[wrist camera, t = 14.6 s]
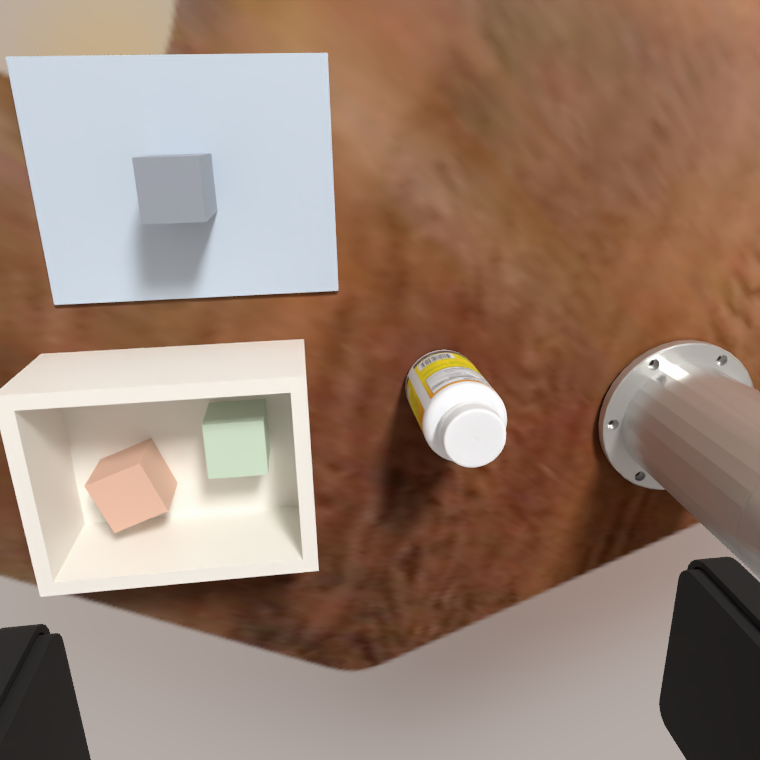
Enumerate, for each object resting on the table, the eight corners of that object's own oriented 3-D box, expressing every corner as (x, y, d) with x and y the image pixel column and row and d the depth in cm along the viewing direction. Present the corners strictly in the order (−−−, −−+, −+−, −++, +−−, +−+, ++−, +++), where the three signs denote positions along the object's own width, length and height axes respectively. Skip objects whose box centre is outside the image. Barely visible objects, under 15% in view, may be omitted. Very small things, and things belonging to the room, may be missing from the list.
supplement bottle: (449, 428, 52) (484, 494, 42) (389, 394, 50) (412, 454, 41) (490, 370, 50) (537, 424, 41) (431, 333, 49) (465, 381, 39)
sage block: (265, 398, 48) (263, 420, 44) (270, 448, 49) (268, 474, 46) (208, 402, 47) (201, 425, 44) (215, 453, 49) (208, 479, 45)
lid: (326, 54, 42) (333, 39, 36) (337, 287, 47) (344, 311, 41) (12, 58, 40) (-43, 43, 34) (59, 301, 45) (20, 329, 39)
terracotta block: (151, 437, 48) (139, 463, 44) (177, 482, 49) (168, 511, 46) (100, 459, 48) (84, 486, 44) (128, 503, 49) (114, 533, 46)
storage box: (303, 339, 48) (306, 376, 40) (314, 509, 53) (318, 570, 45) (41, 353, 46) (-8, 395, 38) (77, 529, 51) (40, 596, 43)
